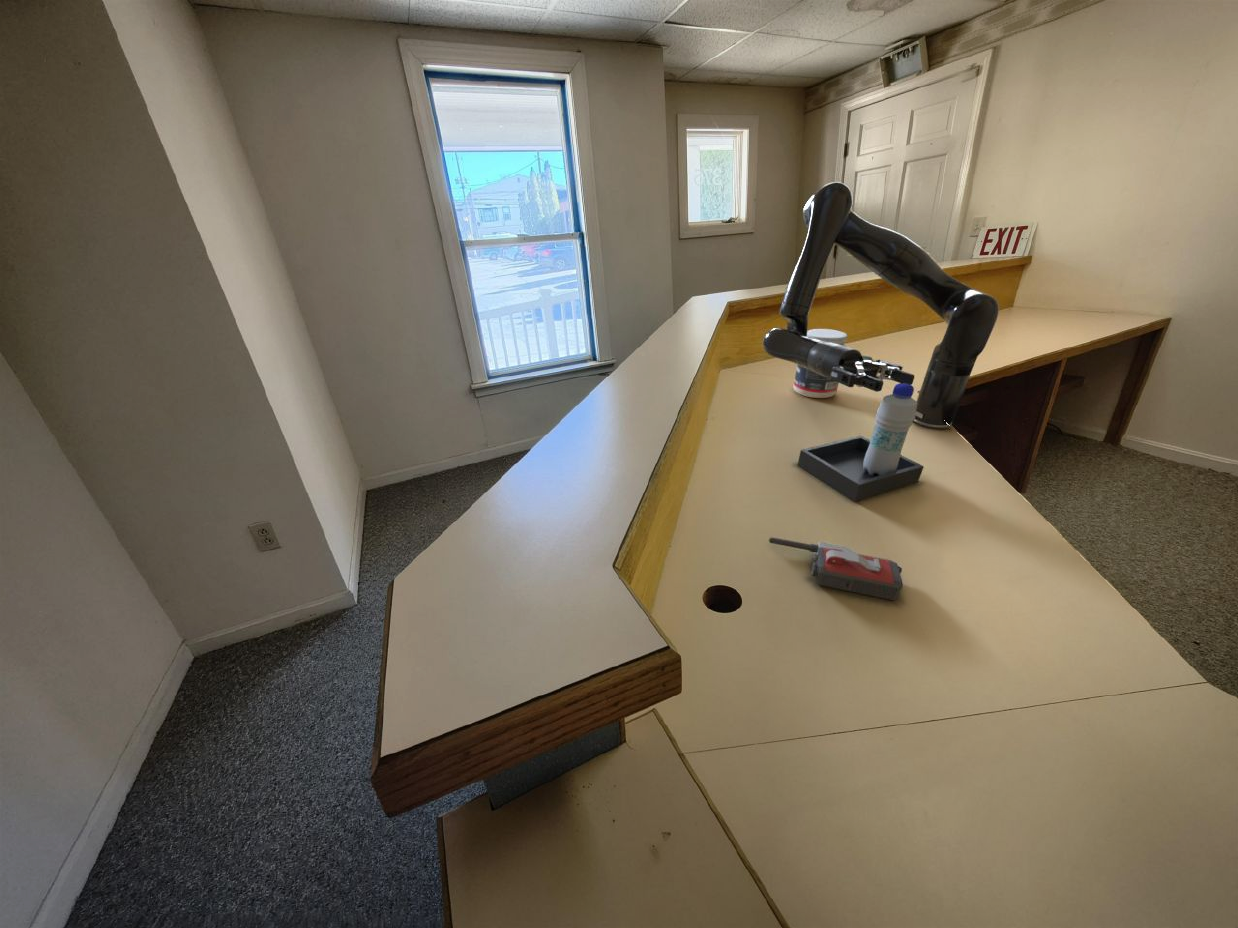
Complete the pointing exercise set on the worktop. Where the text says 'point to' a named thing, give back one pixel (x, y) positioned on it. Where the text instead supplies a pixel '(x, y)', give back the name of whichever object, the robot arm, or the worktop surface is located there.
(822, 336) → the supplement tub
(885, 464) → the bottle
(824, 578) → the walkie-talkie
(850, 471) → the tray
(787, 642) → the worktop surface
